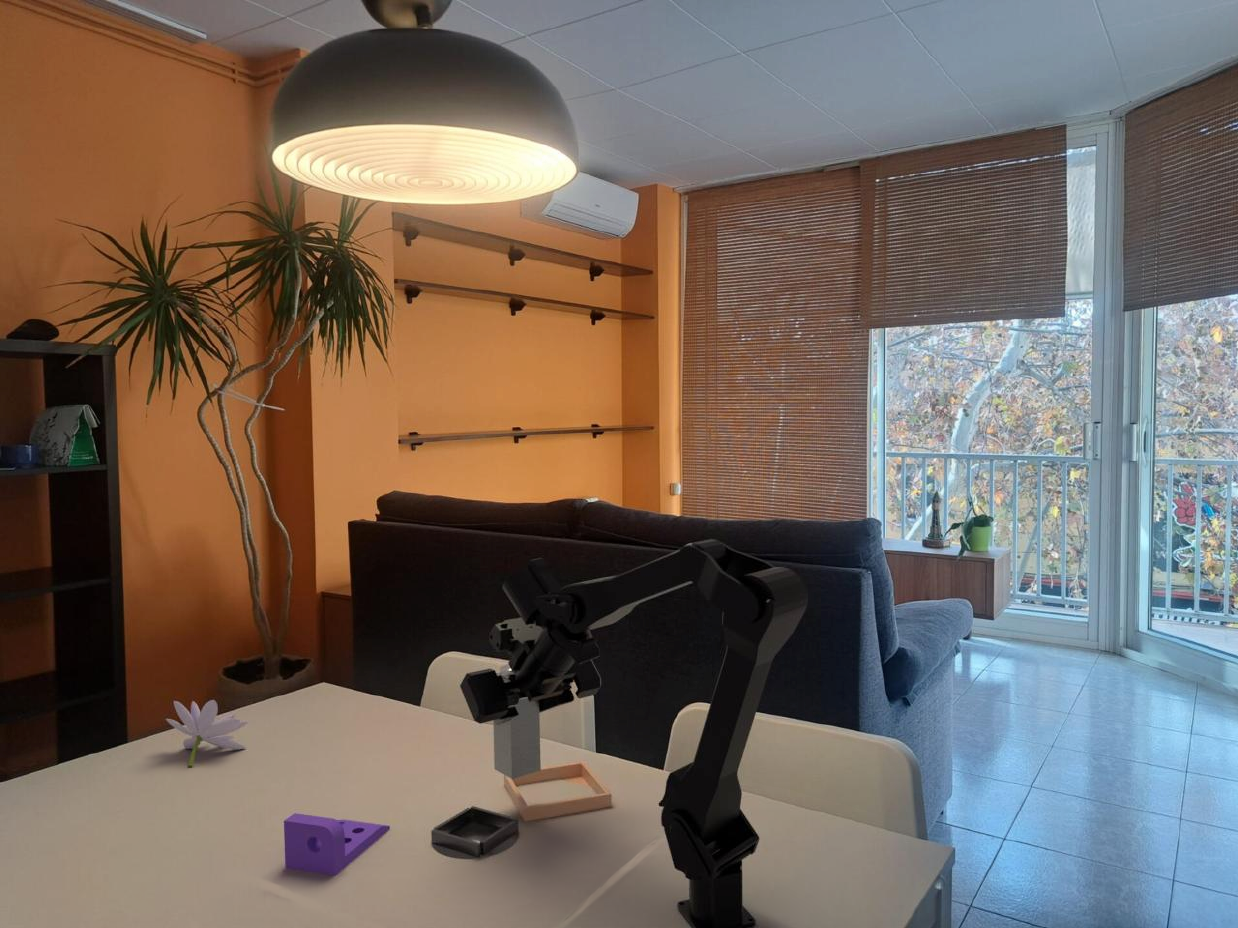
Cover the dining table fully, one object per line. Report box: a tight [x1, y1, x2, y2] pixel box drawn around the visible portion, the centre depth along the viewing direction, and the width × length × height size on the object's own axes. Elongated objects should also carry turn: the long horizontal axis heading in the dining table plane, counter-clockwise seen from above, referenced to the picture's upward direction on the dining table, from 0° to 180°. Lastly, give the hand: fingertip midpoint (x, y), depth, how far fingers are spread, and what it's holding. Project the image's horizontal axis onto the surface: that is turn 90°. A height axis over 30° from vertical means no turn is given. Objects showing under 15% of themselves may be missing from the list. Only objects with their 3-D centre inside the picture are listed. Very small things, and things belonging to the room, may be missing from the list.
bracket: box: [283, 812, 391, 876], centre depth 109 cm, size 12×7×7 cm, turn 164°
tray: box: [503, 760, 612, 822], centre depth 124 cm, size 12×12×2 cm
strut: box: [492, 663, 542, 779], centre depth 118 cm, size 4×4×14 cm
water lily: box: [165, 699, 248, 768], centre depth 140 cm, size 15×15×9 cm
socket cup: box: [430, 805, 520, 860], centre depth 112 cm, size 11×11×2 cm
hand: (511, 717), depth 119 cm, fingers closed on strut, 4 cm apart
